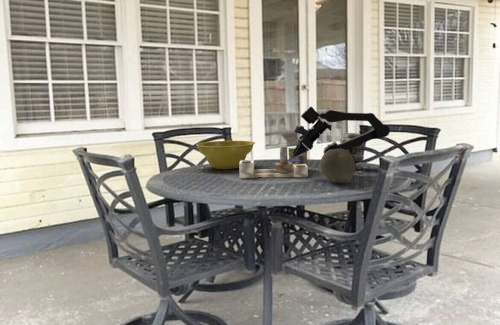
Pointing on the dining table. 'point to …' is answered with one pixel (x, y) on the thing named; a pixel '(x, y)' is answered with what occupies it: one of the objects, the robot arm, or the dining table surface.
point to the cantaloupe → (338, 165)
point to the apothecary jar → (355, 150)
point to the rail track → (270, 171)
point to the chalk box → (297, 157)
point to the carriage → (284, 160)
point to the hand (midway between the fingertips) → (293, 155)
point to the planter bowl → (225, 153)
